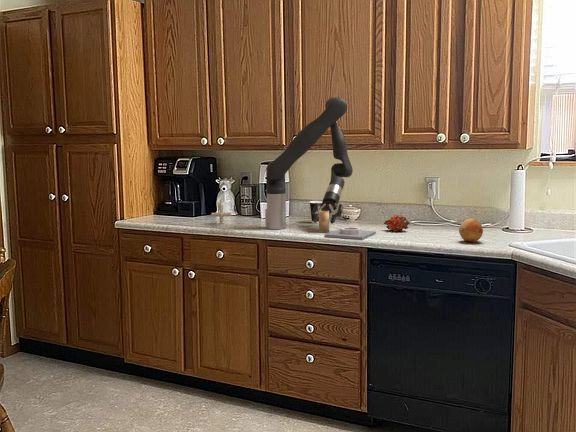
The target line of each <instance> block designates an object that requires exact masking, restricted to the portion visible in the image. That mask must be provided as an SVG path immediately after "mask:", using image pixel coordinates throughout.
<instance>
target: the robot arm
mask: <svg viewBox="0 0 576 432" xmlns="http://www.w3.org/2000/svg"><path fill="white" fill-rule="evenodd" d="M347 110H348V103H347V101H346V99H344V98H341V97H337V96H332V97H330V98H328V99H327V101H326V102H325V109H324V111H323V112H322V113H321V114H320V115H319V116H318V117H317V118H314V120H312V121H311V122H309V123H308V124H307V125H305V126H303V128H301V130H299V132H298V133H297V134H296V135H295V136H294V138H293V139H292V140H291V142H290V143H289V144H288V146H287V147H286V149H285V150H284V151H283V152H281V154H280V155H279V156H278V157H277V158H275V159H274V160H272V161H270V162H269V163H268V164H267V166H266V168H265V169H266V170H265V174H266V180H265V181H266V184H265V185H266V208H265V210H264V213H265V219H264V221H265V222H264V223H265V229H269V230H284V229H286V227H287V221H286V220H287V219H286V217H287V216H286V215H287V210H286V209H287V208H286V206H287V205H286V199H287V198H286V197H287V196H286V195H287V194H286V190H287V189H286V188H287V187H286V175H287V173H288V172H289V170H290V169H291V167H292V166H293V164H295V163H296V162H297V161H298V160H299V159H300V158H301V157H303V156H304V155H305V154H306V153H307V152H308V151H309V150H310V149H311V148H312V147H313V146H314V145H315V144H316V143H317V142H318V141H319V140H320V139H321V137H322V136H323V135H324V134H325V133H326V132H327V131H328V129H330V135H331V143H332V144H331V145H332V155H333V158H334V159H335V160H339V161H341V162H339V163H338V162H337V163H334V164H332V166H331V168H330V181H329V184H328V186H327V188H326V190H325V193H324V195H323V199H322V201H323V202H322V204H318V203H315V205H314V208H313V210H312V214H313V215H314V218H313V220H314V222H315V223H314V224H317V223H316V222H317V220H318V216H319V211H321V210H329V214H332V215H331V218H330V219H329V223H330V224H331V225H333V224H334V223H335V222H336V219H337V217H338V218H341V216H342V214H343V213H342V212H343V209H344V207H343V205H342V203H340V204H339V202H340V199H341V197H342V192H343V189H344V187H345V179H344V178H351V176H352V175H353V166H352V163H351V161H350V158H349V155H348V147H346V144H347V141H346V142H345V138H346V137H345V138H344V135H343V133H342V131H341V130H340V129H339V128H338V126H337V123H336V121H337V120H338V119H339V118H341V117H342V118H343V116H344V115H345V114H346V112H347ZM336 210H337V211H336ZM335 211H336V212H335Z"/></svg>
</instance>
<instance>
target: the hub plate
mask: <svg viewBox="0 0 576 432" xmlns="http://www.w3.org/2000/svg"><path fill="white" fill-rule="evenodd" d="M323 234H324V238H332V239H342V240H343V239H345V240H358V241H364V240H365V239H366V240H367V239H368V238H370V237H372V236H374V235H377V231H375V230H374V231H373V230H362V228H360V227H357V226H356V227H355V226H346V227H341V228H338V229H336V230H333V231H331V232H330V231H329V233H323Z"/></svg>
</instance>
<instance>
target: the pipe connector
mask: <svg viewBox="0 0 576 432" xmlns="http://www.w3.org/2000/svg"><path fill="white" fill-rule="evenodd" d="M218 209H219V211H218V212H211V217H219V225H223V224H224V217H232V212H224V205H223V204H219V208H218Z"/></svg>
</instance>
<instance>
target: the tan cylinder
mask: <svg viewBox="0 0 576 432" xmlns="http://www.w3.org/2000/svg"><path fill="white" fill-rule="evenodd" d="M319 232H320V233H319ZM318 233H319V234H327V233H330V213H329V210H322V211H319V223H318Z"/></svg>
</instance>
